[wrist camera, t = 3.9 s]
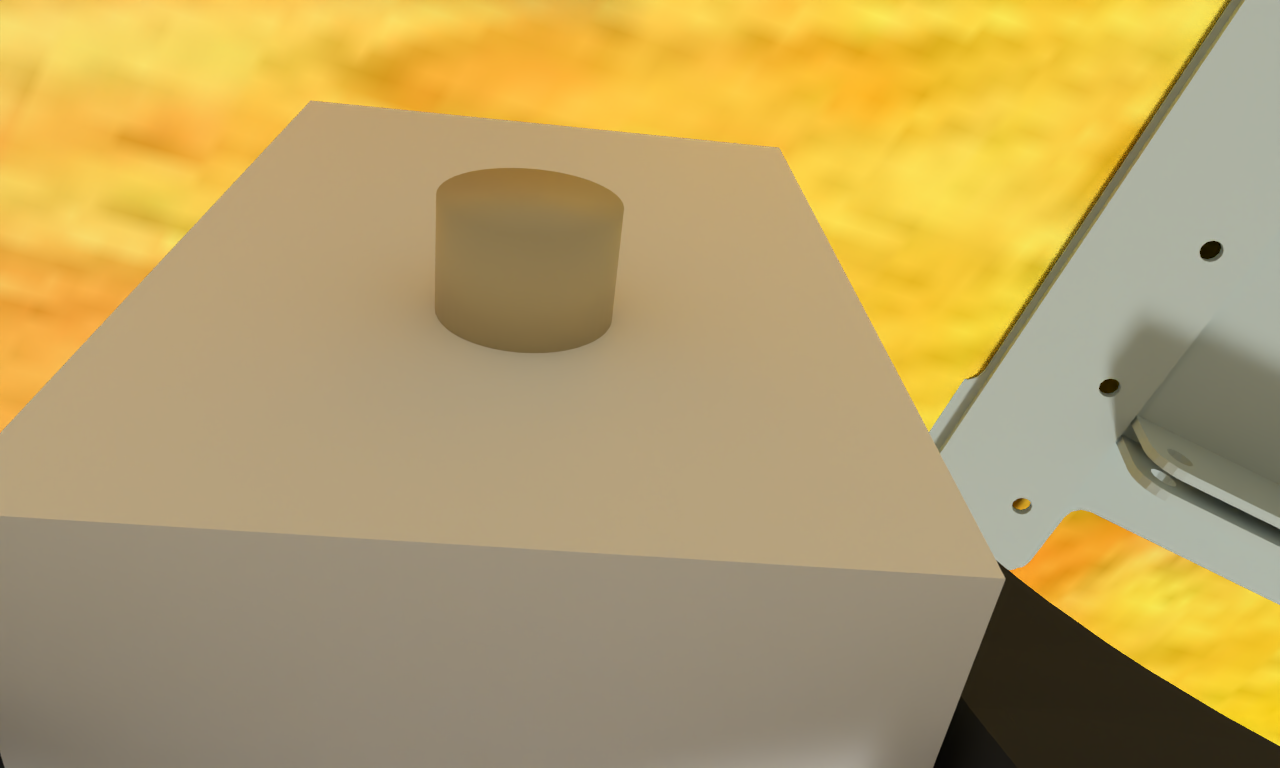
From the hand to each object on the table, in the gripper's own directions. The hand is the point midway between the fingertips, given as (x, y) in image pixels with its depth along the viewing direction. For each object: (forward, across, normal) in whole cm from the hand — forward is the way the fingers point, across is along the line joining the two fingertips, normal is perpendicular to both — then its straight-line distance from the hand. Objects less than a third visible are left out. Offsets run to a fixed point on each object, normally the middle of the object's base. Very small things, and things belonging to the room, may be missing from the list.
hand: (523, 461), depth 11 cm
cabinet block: (+2, 0, 0) cm, 2 cm away
